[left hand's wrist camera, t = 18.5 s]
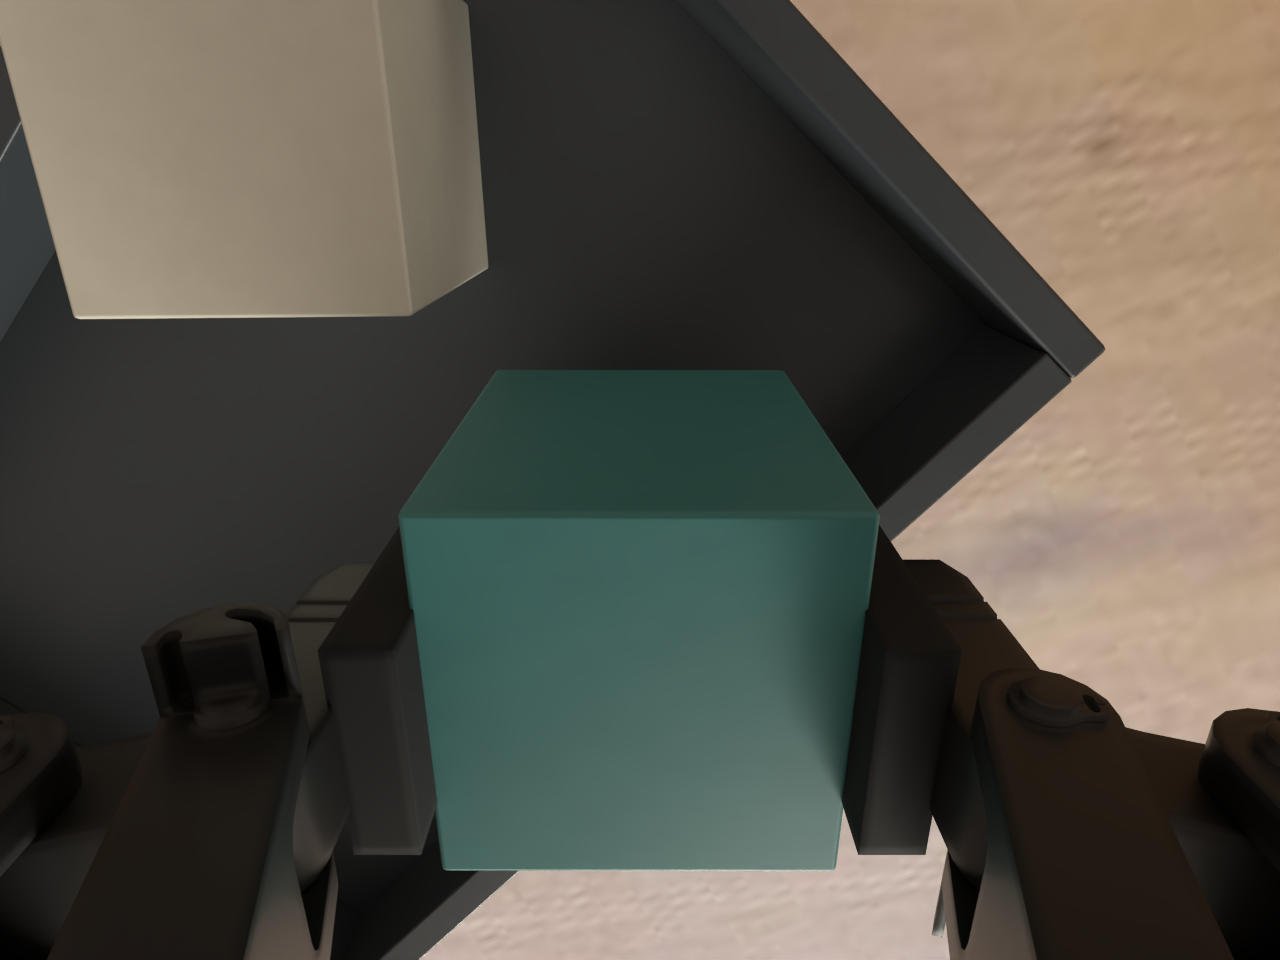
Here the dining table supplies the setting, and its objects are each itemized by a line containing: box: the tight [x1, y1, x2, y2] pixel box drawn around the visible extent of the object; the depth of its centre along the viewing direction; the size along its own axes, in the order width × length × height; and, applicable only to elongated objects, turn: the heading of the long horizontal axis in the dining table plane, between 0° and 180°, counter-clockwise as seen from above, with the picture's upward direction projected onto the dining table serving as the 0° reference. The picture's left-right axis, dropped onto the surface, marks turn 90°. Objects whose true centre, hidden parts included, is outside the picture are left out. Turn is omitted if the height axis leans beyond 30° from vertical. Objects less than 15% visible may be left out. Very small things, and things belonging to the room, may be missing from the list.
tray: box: [0, 0, 1105, 960], centre depth 14 cm, size 27×18×11 cm, turn 138°
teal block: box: [398, 370, 880, 871], centre depth 12 cm, size 5×5×6 cm
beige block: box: [0, 0, 488, 319], centre depth 13 cm, size 5×5×6 cm
